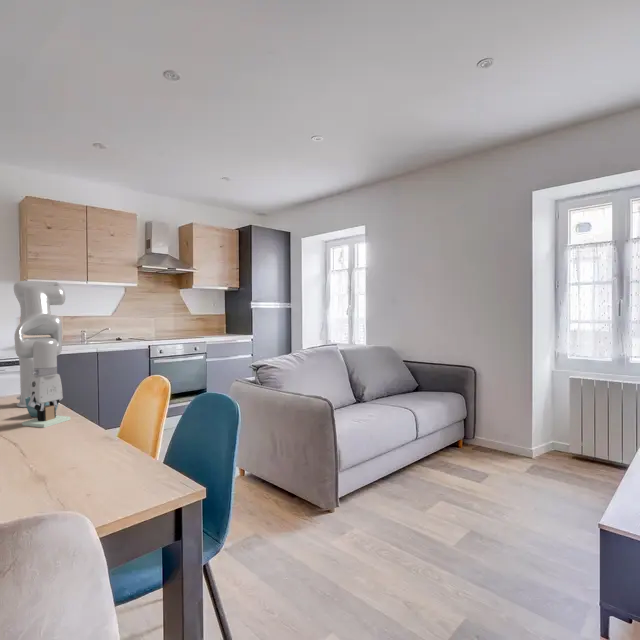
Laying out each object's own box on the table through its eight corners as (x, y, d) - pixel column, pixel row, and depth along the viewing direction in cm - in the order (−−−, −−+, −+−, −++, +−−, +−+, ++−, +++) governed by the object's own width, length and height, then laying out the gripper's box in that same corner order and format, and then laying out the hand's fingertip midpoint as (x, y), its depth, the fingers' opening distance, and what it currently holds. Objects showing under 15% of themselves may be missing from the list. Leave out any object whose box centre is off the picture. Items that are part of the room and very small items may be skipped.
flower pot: (46, 420, 163) (45, 398, 163) (24, 420, 163) (24, 398, 163) (60, 414, 172) (60, 393, 171) (40, 414, 172) (39, 393, 172)
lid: (22, 425, 152) (21, 409, 152) (49, 417, 163) (48, 402, 162) (44, 427, 149) (43, 410, 149) (70, 419, 159) (70, 404, 159)
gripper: (31, 375, 146) (33, 426, 147) (72, 369, 162) (73, 414, 163) (16, 375, 148) (18, 424, 149) (57, 368, 164) (58, 413, 165)
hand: (46, 418), depth 156 cm, fingers closed on lid, 3 cm apart
